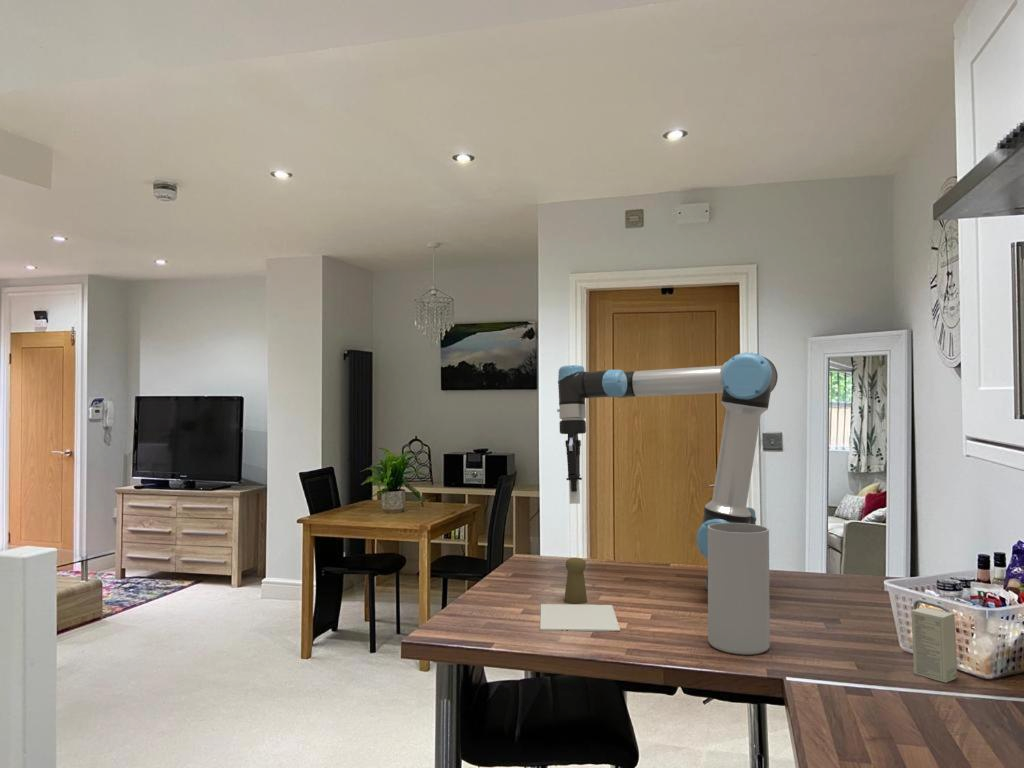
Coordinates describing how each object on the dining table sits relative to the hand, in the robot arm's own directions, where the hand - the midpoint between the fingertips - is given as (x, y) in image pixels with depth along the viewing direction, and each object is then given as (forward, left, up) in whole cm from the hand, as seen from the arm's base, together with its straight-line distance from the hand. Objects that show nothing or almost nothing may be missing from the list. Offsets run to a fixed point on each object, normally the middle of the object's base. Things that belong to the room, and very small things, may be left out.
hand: (574, 503), depth 206 cm
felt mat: (-21, +22, -23) cm, 38 cm away
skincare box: (-92, -1, -23) cm, 95 cm away
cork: (-11, +11, -23) cm, 28 cm away
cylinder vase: (-58, +11, -23) cm, 63 cm away
